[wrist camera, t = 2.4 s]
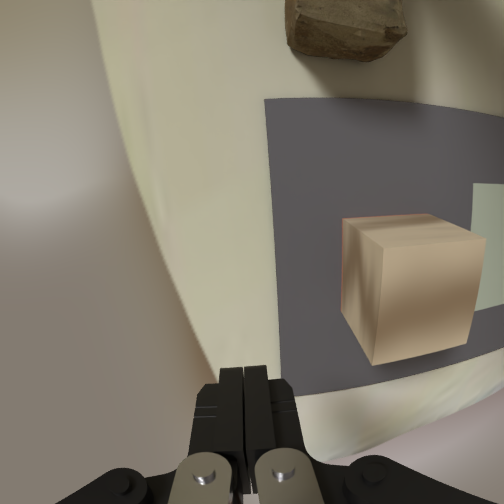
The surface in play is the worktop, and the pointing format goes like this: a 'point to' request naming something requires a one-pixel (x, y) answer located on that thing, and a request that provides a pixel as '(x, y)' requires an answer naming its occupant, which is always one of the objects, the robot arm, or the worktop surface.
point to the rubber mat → (368, 205)
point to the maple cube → (409, 284)
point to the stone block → (344, 27)
